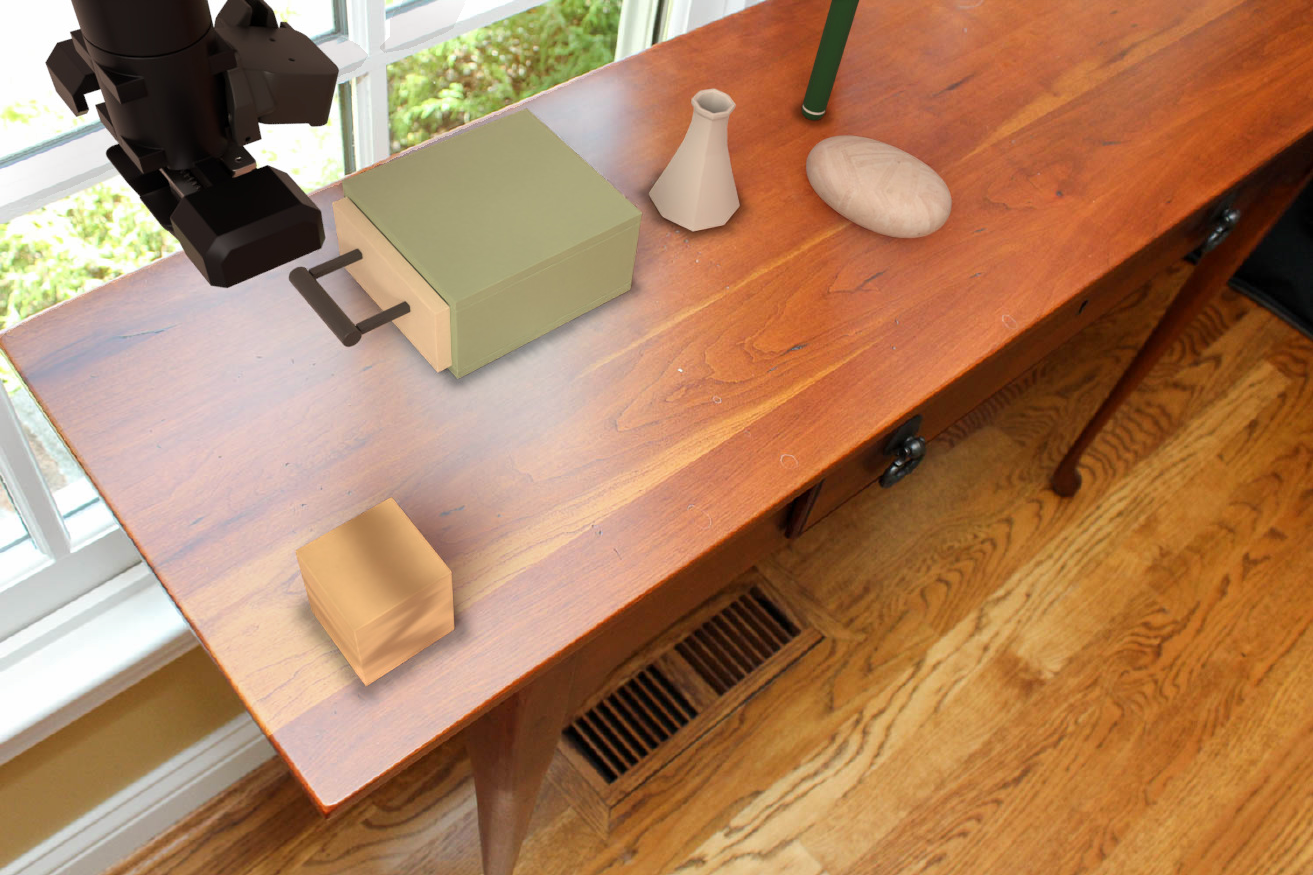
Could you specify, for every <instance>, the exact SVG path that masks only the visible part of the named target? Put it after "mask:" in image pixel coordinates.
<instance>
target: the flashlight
mask: <svg viewBox="0 0 1313 875" xmlns="http://www.w3.org/2000/svg"><path fill="white" fill-rule="evenodd" d="M859 3H860V0H831V1H830V5H829V9H828V12H827V16H826V19H825V23H824V26H823V30H822V33H821V37H820V40H819V43H818V47H817V52H816V55H815V58H814V62H813V66H812V68H811V73H810V76H809V81H808V83H807V87H806V91H805V94H804V97H803V101H802V104H801V113H802V116H803V117H804V118H805V119H807V120H809V121H814V122H815V121H819V120H821V119H822V118H823V117H824V116H825V114H826V111H827V108H828V105H829V102H830V98H831V95H832V92H833V89H834V84H835V82H836V78H837V74H838V72H839V69H840V66H841V62H842V59H843V56H844V52H845V49H846V45H847V42H848V39H849V36H850V32H851V29H852V26H853V23H854V19H855V16H856V13H857V10H858V6H859Z"/></svg>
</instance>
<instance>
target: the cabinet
mask: <svg viewBox="0 0 1313 875" xmlns="http://www.w3.org/2000/svg"><path fill="white" fill-rule="evenodd" d="M341 185H342V186H341V187H342V191H343V192H342V193H343V198H345V197H348V198H349V199H350V200H351V201H352V202H353V203H354V204H355V205H356V206H357V207H358V209H359V210H360V211H361V212H362V213H363V214H364V215H365V216H366V217H367V218H368V219H369V220H370V221H371V223H372V224H373V225H374V226H375V225H376V226H377V228H378V229H379V230H380V231H381V232H382V233H383V234H384V235H385V236H386V237H387V238H388V239H389V240H390V242H391V243H392V244H393V245H394V246H395V247H396V248H397V249H398V250H399V251H400V252H401V253H402V254H403V256H404V257H405V258H406V259H407V260H408V261H409V262H410V263H411V264H412V265H413V266H414V267H415V268H416V270H417V271H418V272H419V273H420V274H421V275H422V276H423V277H424V278H425V279H426V280H427V281H428V282H429V284H430V285H431V286H432V287H433V288H434V289H435V290H436V291H437V292H438V293H439V294H440V295H441V296H442V298H443V299H444V300H445V301H446V302H447V303H448V306H449V307H450V323H451V350H452V366H450V367H448V368H447V369H448V370H449V372H451V374H452V375H453V376H454V377H455V378H456V379H457V380H459V379H461V378H463V377H465V376H467V375H469V374H470V373H472V372H475V371H476V370H478V369H480V368H482V367H485V366H486V365H488V364H490V363H492V362H494V361H496V360H498V359H500V358H501V357H503V356H506V355H508V354H509V353H511V352H513V351H515V350H517V349H519V348H521V347H522V346H525V345H526V344H529V343H530V342H532V341H534V340H536V339H538V338H541V337H542V336H544V335H546V334H547V333H550V332H552V331H554V330H555V329H557V328H559V327H561V326H564V325H565V324H567V323H569V322H571V321H573V320H575V319H577V318H579V317H580V316H583V315H585V314H587V313H589V312H590V311H592V310H594V309H596V308H598V307H600V306H601V305H603V304H605V303H607V302H609V301H612V300H614V299H615V298H617V297H619V296H621V295H623V294H625V293H626V292H628V291H631V289H632V282H633V277H634V268H635V263H636V255H637V250H638V242H639V236H640V230H641V222H642V220H643V219H642V218H643V212H642V211H641V210H640V209H639V208H638V207H637V206H636V205H634V204H633V203H632V201H630V200H629V199H628V198H627V197H626V196H624V194H623V193H622V192H620V191H619V190H618V189H617V188H616V187H615V186H614V185H613V184H612V183H611V182H609V181H608V179H606V178H605V177H604V176H603V175H602V174H600V173H599V172H598V171H597V170H596V169H595V168H594V167H593V166H592V165H591V164H589V163H588V162H587V161H586V160H585V159H584V158H582V157H581V156H580V155H579V154H578V153H577V152H576V151H575V150H574V149H573V148H572V147H570V146H569V145H568V144H567V143H566V141H564V140H563V139H562V138H561V137H559V136H558V134H556V133H555V132H554V131H553V130H552V129H551V128H549V127H548V125H546V124H545V122H543V121H542V120H541V119H540V118H538V117H537V116H536V115H535V114H534V113H533V112H532V111H531V110H530V109H529V108H527V107H526V108H522V109H521V110H518V111H516V112H513V113H510V114H508V115H506V116H503V117H501V118H497V119H495V120H493V121H490V122H488V123H487V122H486V123H484V124H483V125H480V126H477V127H475V128H473V129H469V130H467V131H465V132H462V133H460V134H456V135H455V136H452V137H450V138H448V139H444V140H442V141H439V142H437V143H434V144H432V145H429V146H426V147H424V148H422V149H419V150H416V151H414V152H411V153H408V154H406V155H404V156H401V157H398V158H395V159H394V160H391V161H388V162H386V163H383V164H381V165H378V166H376V167H373V168H371V169H368V170H365V171H363V172H360V173H358V174H355V175H353V176H351V177H348V178H345V179H343V180H341Z"/></svg>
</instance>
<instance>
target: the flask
mask: <svg viewBox="0 0 1313 875" xmlns="http://www.w3.org/2000/svg"><path fill="white" fill-rule="evenodd" d="M690 104H691V106H692V107H693V113H692V117H691V122H690V123H689V126H688V129H687V131H686V134H685V136H684V139H683V141H682V142H681V143H680V144H679V147H678V148H677V150H676V151H675V153H674V154H673V155H672V157H671V159H670V161H669V162H668V164H667V166H666V167H665V169H663V171H662V173H661V174H660V175H659V177H658V178H657V180H656V181H655V183H654V185H653V186H652V188H651V189H650V191H649V192H648V196H649V198H650V199H651V201H652V202H653V204H654V206H655V207H656V209H657V211H658V213H659V214H660V215H661V217H662V218H664V219H666V220H668V221H670V222H672V223H674V224H676V225H678V226H680V227H682V228H685V229H686V230H688V231H691V232H696V231H702V230H707V229H711V228H717V227H720V226H725V225H726V223H727V222H728V221H729V220H730V219H731V218H732V216H733V215H734V214H735V213H736V211H737V210H738V209H739V208H740V206H741V205H740V200H739V195H738V191H737V187H736V186H737V185H736V182H735V178H734V174H733V169H732V168H733V167H732V163H731V158H730V153H729V152H730V151H729V147H728V125H729V120H730V115H731V114H732V113H733V112H734V111H735V109H736V106H737V104H736V103H735V102H734V100H733V98H732V97H731V96H730V95H729V94H728V93H726V92H724V91H721V90H720V89H718V88H715V87H714V88H707V89H701V90H698V91H697V93H695V95H694V96H693V97H691V100H690Z"/></svg>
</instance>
